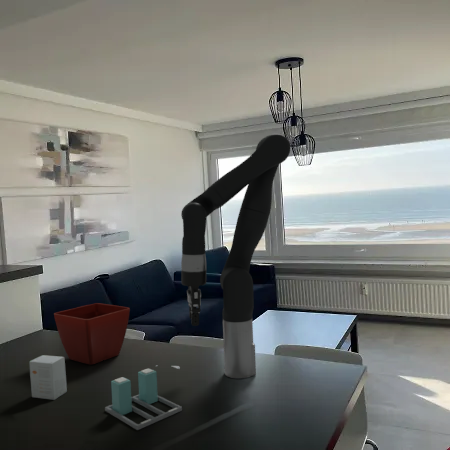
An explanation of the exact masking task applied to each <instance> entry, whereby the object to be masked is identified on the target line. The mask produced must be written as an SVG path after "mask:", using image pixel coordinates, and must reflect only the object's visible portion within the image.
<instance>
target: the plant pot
mask: <svg viewBox="0 0 450 450" xmlns="http://www.w3.org/2000/svg"><path fill="white" fill-rule="evenodd" d="M130 311H131V309H130V307H127V306H121V305H120V306H119V305H116V304H115V305H114V304H108V303H107V304H106V303H99V302H95V303H92V304H86V305H81V306H77V307H74V308H70V309H66V310H61V311H57V312H54V313H53V315H54V316H53V317H54V321H55V325H56V328H57V332H58V336H59V338H60V340H61V345H62V347H63V348H64V350H65V353H66V355H67V357H68V359H69V360H72V361H75V362H79V363H82V364H86V365H90V366H91V365H95V364H98V363H100V362H103V360H104V361H105V360H108V359H112V358H114V357H117V356H119V355H120V353H121V349H122V347H123V344H124V340H125V336H126V333H127V329H128V324H129V320H130Z"/></svg>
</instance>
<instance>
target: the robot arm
mask: <svg viewBox="0 0 450 450" xmlns="http://www.w3.org/2000/svg"><path fill="white" fill-rule="evenodd" d="M290 153H291V144H290V141H289V139H288V138H287V137H286V136H285V135H282V134H280V133H272V134H268V135H266V136H264V137H263V138H262V139H260V141H259V142H258V143H257V145H256V148H255V151H254V152H253V153H251V155H250V156H248V157H247V158H246V159H245V160H244V161H242V162H241V163H240V164H239V165H236V167H234V168H232V169H231V170H229V171H228V172H227V173H225V174H224V175H222V176H221V177H220V178H219V179H217V180H216V181H214V182H213V183H212V184H211V185H209V187H207V188H206V189H205V190H204V191H203V192H201V194H199V195H197V196H196V197H195V198H194V199H192V200H190V201H189V202H188V203H187V204H185V205H184V206H183V207H182V210H181V219H182V228H183V229H182V230H183V233H182V235H183V236H182V239H181V240H182V241H181V262H180V264H181V265H180V266H181V267H180V268H181V271H180V272H181V285H182V286H185V287H187V290H186V294H187V295H186V296H187V302H188V304H187V305H188V306H189V307H188V309H189V310H188V315H189V317H188V318H189V319H191V326H193V327H199V325H200V313H201V305H202V301H201V298H202V291H201V289H200V288H199V287H200V286H205V285H206V284H207V257H206V230H207V217H208V216H210V215H211V214H212V213H213V212H214V211H216V210H218V209H220V208H221V207H223V206H224V205H226V204H227V203H228V202H229V201H230V200H232V199H233V198H234V197H236V195H237V194H239V193H240V192H241V191H242V190H243V189H245V188H246V187H247V188H246V190H245V192H244V196H243V198H242V202H241V206H240V209H239V213H238V215H237V220H236V225H235V228H234V232H233V238H232V242H231V248H230V250H229V254H228V256H227V259H226V261H225V264H224V266H223V269H222V271H221V273H220V277H219V283H220V286H221V287H220V288H221V289H222V293H223V294H222V299H223V305H222V306H223V309H222V311H221V312H222V334H223V335H222V337H223V338H222V340H223V364H224V366H223V369H224V375H225V376H226V377H228V378H231V379H239V380H240V379H247V378H250V377H252V376H256V375H257V368H256V367H257V366H256V365H257V363H256V344H255V343H254V333H253V332H254V330H253V329H254V328H253V312H254V304H255V303H254V302H255V301H254V281H253V278H252V275H251V273H250V268H251V263H252V258H253V255H254V253H255V250H256V248H257V246H258V245H259V244H260V241H261V240H262V238H263V236H264V234H265V231H266V228H267V225H268V221H269V219H270V215H271V210H272V202H273V201H272V200H273V199H272V197H273V195H272V194H273V185H274V184H273V183H274V179H275V177H276V174H277V171H278V169H279V165H281V164H282V163H283V162H285V161H286V160H287V159H288V157H289V156H290Z"/></svg>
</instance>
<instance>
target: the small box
mask: <svg viewBox="0 0 450 450" xmlns="http://www.w3.org/2000/svg"><path fill="white" fill-rule="evenodd" d="M65 361H66V360H65V356H56V355H47V354H44V355H43V354H42V355H39V356H38V357H36V358H34V359H31V360H30V361H29V376H30V387H31V388H30V389H31V397H32V398H37V399H45V400H53V401H55V400H56V399H58V398H59V397H61V396H63V395H64V394H66V393H67V391H68V390H67V388H68V385H67V375H66V374H67V373H66V363H65Z"/></svg>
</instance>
